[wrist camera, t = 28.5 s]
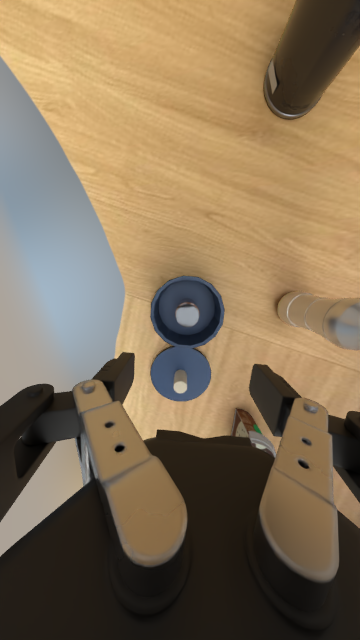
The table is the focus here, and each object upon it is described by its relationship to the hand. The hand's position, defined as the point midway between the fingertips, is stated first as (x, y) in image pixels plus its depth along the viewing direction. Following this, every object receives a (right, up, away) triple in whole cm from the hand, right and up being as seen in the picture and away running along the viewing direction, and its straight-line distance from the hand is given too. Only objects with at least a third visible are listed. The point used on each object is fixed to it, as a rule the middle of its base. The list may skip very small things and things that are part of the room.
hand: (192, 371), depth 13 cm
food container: (+15, -22, +32) cm, 41 cm away
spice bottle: (+1, +6, +25) cm, 26 cm away
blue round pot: (+1, +6, +25) cm, 26 cm away
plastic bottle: (+21, +6, +25) cm, 33 cm away
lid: (-1, -8, +28) cm, 29 cm away
